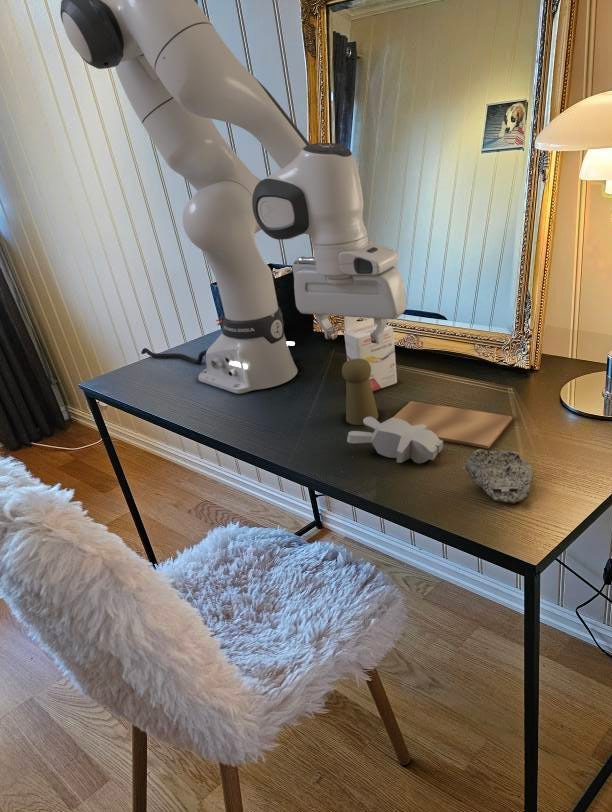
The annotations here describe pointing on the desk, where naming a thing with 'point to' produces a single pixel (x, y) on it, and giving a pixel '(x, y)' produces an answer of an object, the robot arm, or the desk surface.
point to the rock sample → (500, 474)
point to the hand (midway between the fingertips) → (354, 340)
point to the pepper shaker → (358, 391)
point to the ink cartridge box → (371, 350)
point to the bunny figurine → (399, 440)
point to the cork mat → (456, 423)
